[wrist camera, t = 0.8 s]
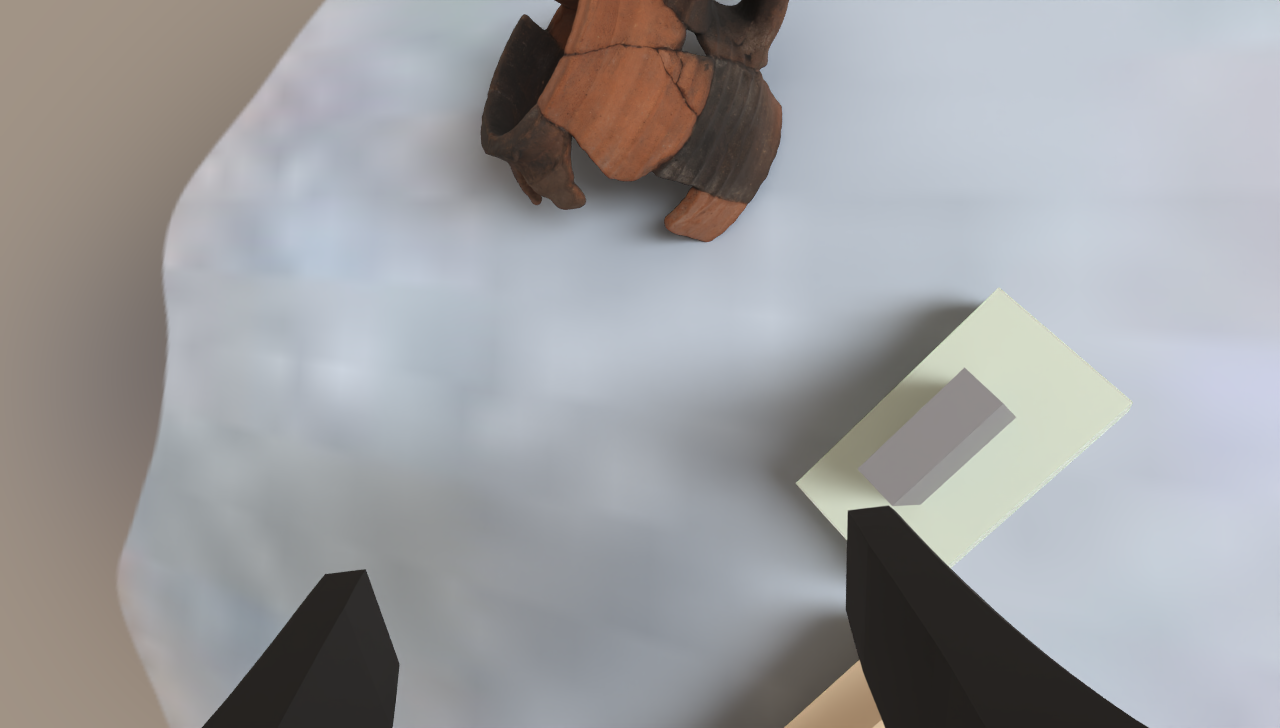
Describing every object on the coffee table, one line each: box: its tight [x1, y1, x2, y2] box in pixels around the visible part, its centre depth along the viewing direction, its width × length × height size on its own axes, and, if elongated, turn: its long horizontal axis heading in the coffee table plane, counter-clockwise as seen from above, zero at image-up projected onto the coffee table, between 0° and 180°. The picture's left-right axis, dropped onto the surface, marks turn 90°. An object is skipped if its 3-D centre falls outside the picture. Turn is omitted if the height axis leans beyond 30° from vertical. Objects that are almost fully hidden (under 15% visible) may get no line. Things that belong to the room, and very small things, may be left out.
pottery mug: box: [481, 0, 789, 242], centre depth 31 cm, size 12×10×8 cm
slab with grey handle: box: [796, 288, 1133, 568], centre depth 24 cm, size 4×8×7 cm, turn 132°
